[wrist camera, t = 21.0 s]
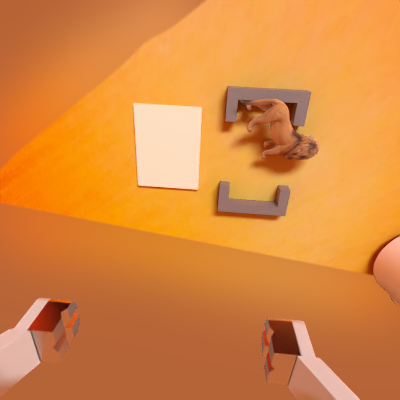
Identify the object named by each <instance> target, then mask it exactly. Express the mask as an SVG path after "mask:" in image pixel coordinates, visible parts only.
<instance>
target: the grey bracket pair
mask: <svg viewBox="0 0 400 400" xmlns="http://www.w3.org/2000/svg"><path fill="white" fill-rule="evenodd" d="M310 95H311V92H310V91H307V90H288V89H270V88H252V87H234V86H228V91H227V103H226V115H225V121H226V122H236V117H237V107H238V100H252V101H254V100H261V99H270V98H271V99H278V100H280V101H282V102H287V103H294V104H293V109H292V115H291V120H290V122H291V124H292V125H293V126H304V124H305V119H306V114H307V109H308V105H309V100H310ZM228 195H229V182H222V181H220V186H219V198H218V211H221V212H235V213H248V214H262V215H275V216H285V214H286V210H287V205H288V200H289V195H290V189H289V188H288V186H280V185H278V190H277V195H276V201H275V202H270V201H256V200H242V199H229V198H228Z"/></svg>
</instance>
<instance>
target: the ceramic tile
mask: <svg viewBox="0 0 400 400" xmlns="http://www.w3.org/2000/svg"><path fill="white" fill-rule="evenodd" d="M201 120H202V107H195V106H177V105H160V104H143V103H134V122H135V139H136V157H137V174H138V185H139V186H154V187H168V188H182V189H196V190H198V183H199V162H200V141H201Z"/></svg>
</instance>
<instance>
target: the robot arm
mask: <svg viewBox="0 0 400 400" xmlns="http://www.w3.org/2000/svg"><path fill="white" fill-rule="evenodd" d="M373 273H374V277H375V280H376V281H377V283H378V284H379V285H380V286H381V287H382V288H383V289H384V290H386V291H387V292H388V293H389V294H390V297H391V299H392V301H393V302H394V303H395V304H396V305H398V306H400V236H399V237H398V238H396V239H394V240H393V241H391V242H390V243H389V244H388V245H386V246H385V247H384V248H383V249H382V251H381V252H380V253H379V255H378V256H377V258H376V260H375V263H374V267H373ZM76 309H77V304H76V302H74V301H67V300H58V299H49V298H39V299H37V300H36V301H35V303H34V304H33V305H32V307H31V308H30V309H29V310H28V312H27V313H26V314H25V315H24V317H23V318H22V319H21V320H20V322H19V323H18V324H17V326H16V327H15V328H14V329H9V330H7V331H6V332H4V333H2V334H1V335H0V396H1V395H3V394H4V393H5V392H6V391H7V390H9V389H10V388H11V387H12V386H13V385H14V384H16V383H17V382H18V381H19V380H20V379H22V378H23V377H24V376H25V375H26V374H27V373H29V372H30V371H31V370H32V369H33V368H35V367H36V366H37V365H38V364H39V363H40V361H41V362H56V363H61V362H62V360H63V358H64V356H65V354H66V352H67V351H68V349H69V345H68V342H69V341H71V340H72V339H74V337H75V335H76V334H77V332H78V328H79V324H80V318H79V314H77V313H76V312H75V311H76ZM264 325H265V330H264V331H263V333H262V343H261V344H262V355H263V357H264V358H265V359H266V360H265V365H264V369H265V376H266V382H267V383H271V384H279V385H286V386H288V387H289V389H290V391H291V392H292V393H293V395H294V396H295V398H296V399H297V400H360V399H359V398H358V397H357V396H356V395H355V394H354V393H353V392H352V391H351V390H350V389H349V388H348V387H347V386H346V385H345V384H344V383H343V382H342V381H341V380H340V379H339V378H338V376H337V375H335V373H334V372H333V371H332V370H331V369H330V368H329V367H328V366H327V365H326V364H325V363H324V362H323V361H322V360H321V359H320V358H316V357H315V354H314V350H313V347H312V345H311V341H310V338H309V335H308V332H307V329H306V326H305V323H304V322H303V321H297V320H287V319H274V318H266V320H265V324H264Z"/></svg>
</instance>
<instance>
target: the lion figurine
mask: <svg viewBox="0 0 400 400" xmlns="http://www.w3.org/2000/svg"><path fill="white" fill-rule="evenodd" d="M240 102H241V104H242V105H246V107H247V109H248V110H251V109H252V107H251V106H253V105H254V106H257V107H259V108H260V109H262V110H264V111H265V112H264V113H263V114H262V115H261V116H259V117H254V118H253V119H252V120H251V121H250V123H249V124H248V126H247V129H248V131H249V132H251V131H252V130H253V125H254V124H256V123H271V125H270V132H271V136H272V138H273V139H271V140H266V141H264V147H265V148H267V147H268V146H269V145H272V144H277V145H276V146H275V147H274V148H273V149H270V150H265V151H264V152H262V158H263V159H265V158H266V155H277V154H281V155H283V157H285V158H287V159H289V160H302V159H303V160H304V159H309V158H312V157H313V156H314V155H315V154H317V153H318V150H319V143H318V141H317V140H316V139H315V138H314V137H313V136H309V137H307V136H304V135H303V134H301V135H300V134H299V133H296V132H295V131H294V130H293V127H292V125H291V122H290V118H289V110H288V107H287V106H286V104H285V103H284V102H282V101H280V100H278V99H271V98H270V99H261V100H254V101H250V102H246V101H242V100H240Z"/></svg>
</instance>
